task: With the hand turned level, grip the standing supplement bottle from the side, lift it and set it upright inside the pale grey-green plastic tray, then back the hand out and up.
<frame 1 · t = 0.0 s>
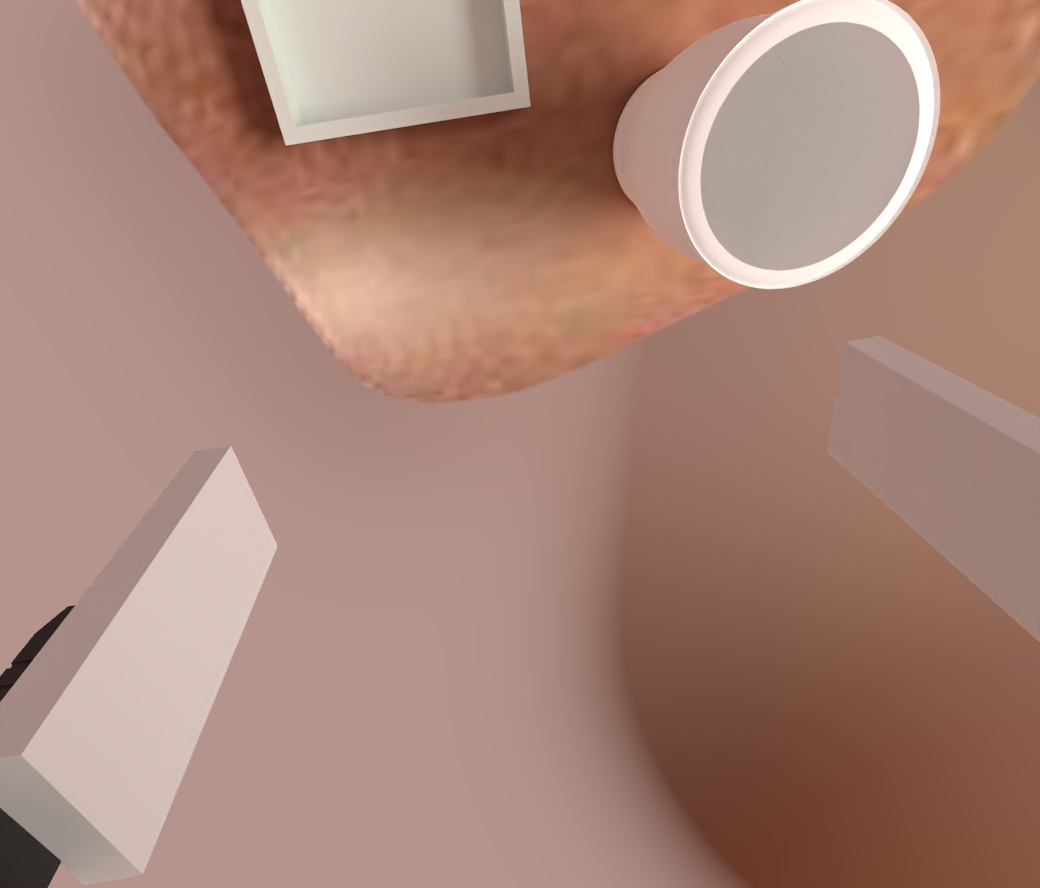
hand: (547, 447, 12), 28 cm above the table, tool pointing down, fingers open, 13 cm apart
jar: (677, 143, 35), on the table
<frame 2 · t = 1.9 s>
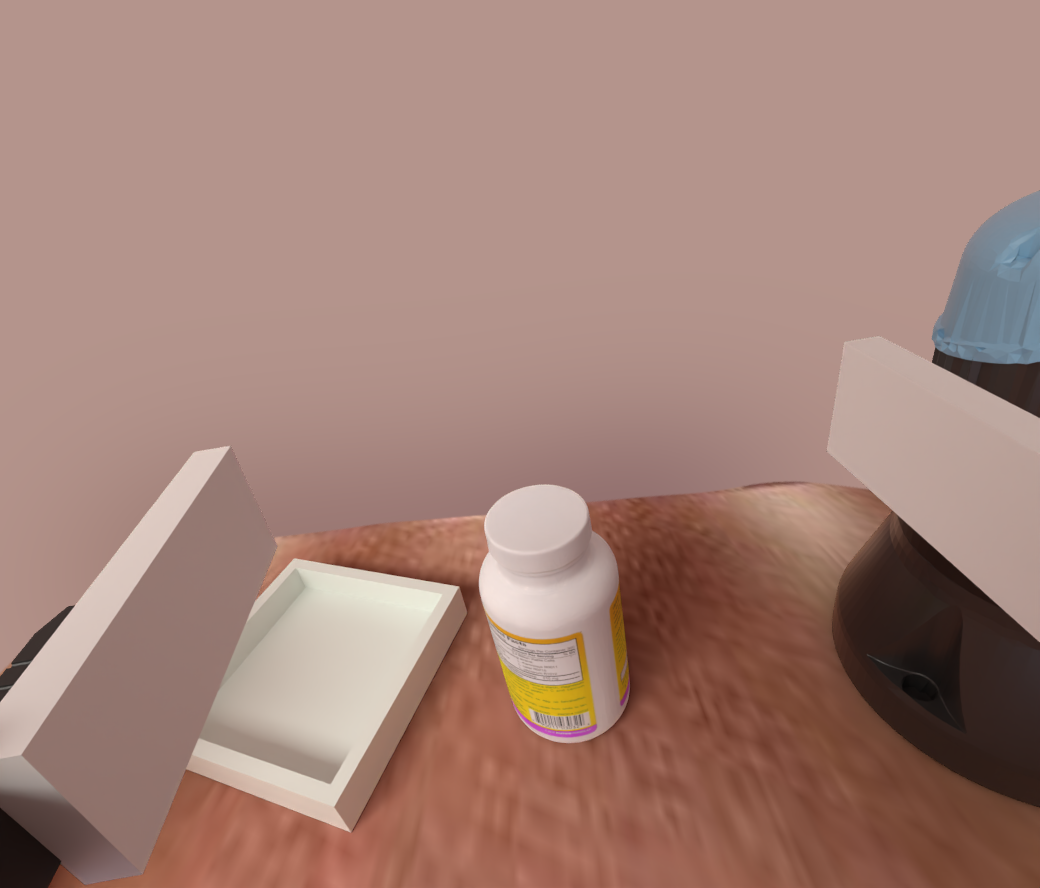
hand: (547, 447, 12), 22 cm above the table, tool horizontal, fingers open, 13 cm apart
tray: (324, 679, 35), on the table
supplement bottle: (570, 692, 32), on the table
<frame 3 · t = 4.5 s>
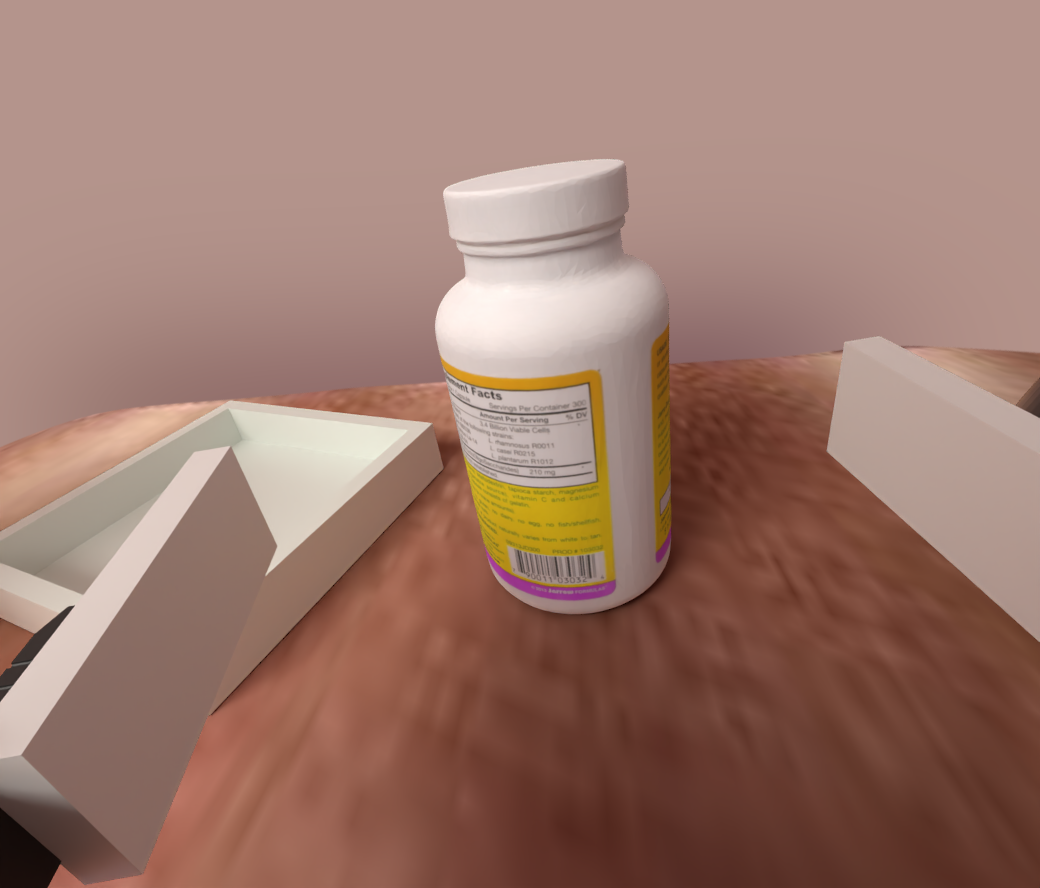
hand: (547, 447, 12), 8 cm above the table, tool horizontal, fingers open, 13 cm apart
tray: (234, 532, 25), on the table
supplement bottle: (578, 557, 21), on the table
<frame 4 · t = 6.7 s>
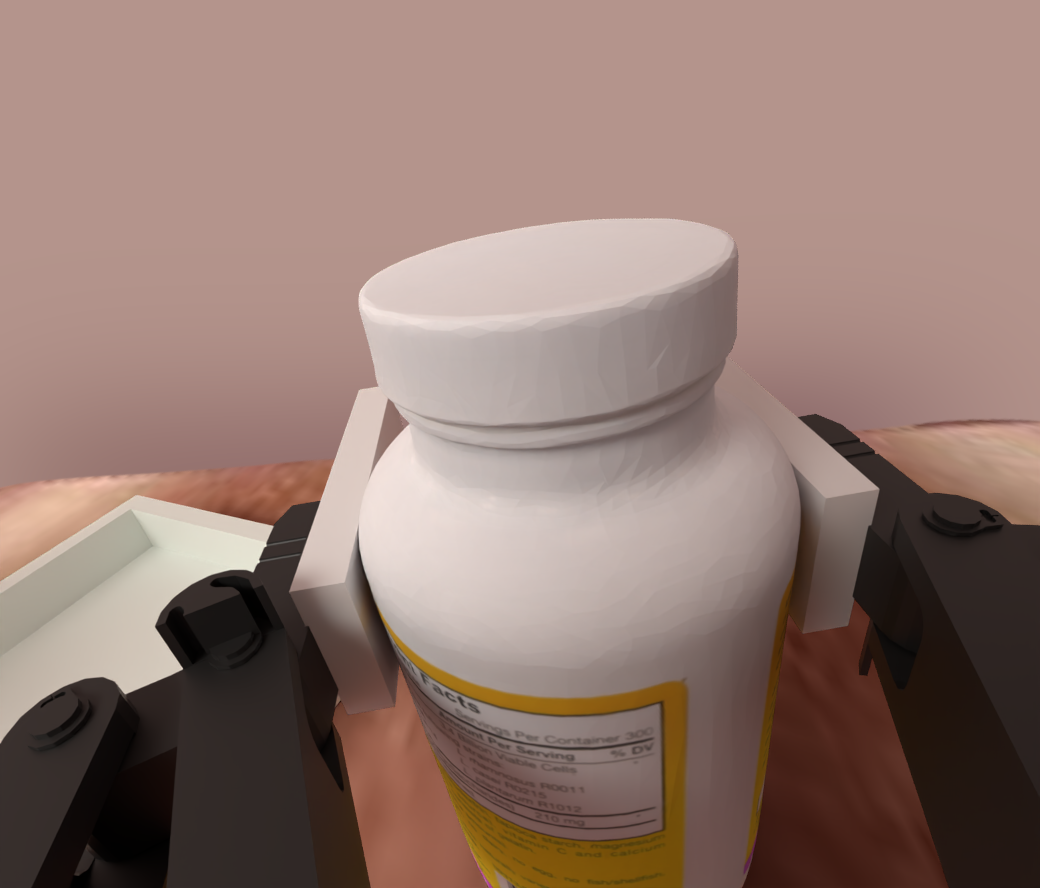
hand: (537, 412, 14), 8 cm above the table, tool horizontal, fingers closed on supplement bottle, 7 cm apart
tray: (110, 718, 18), on the table
supplement bottle: (604, 803, 14), on the table, touching gripper
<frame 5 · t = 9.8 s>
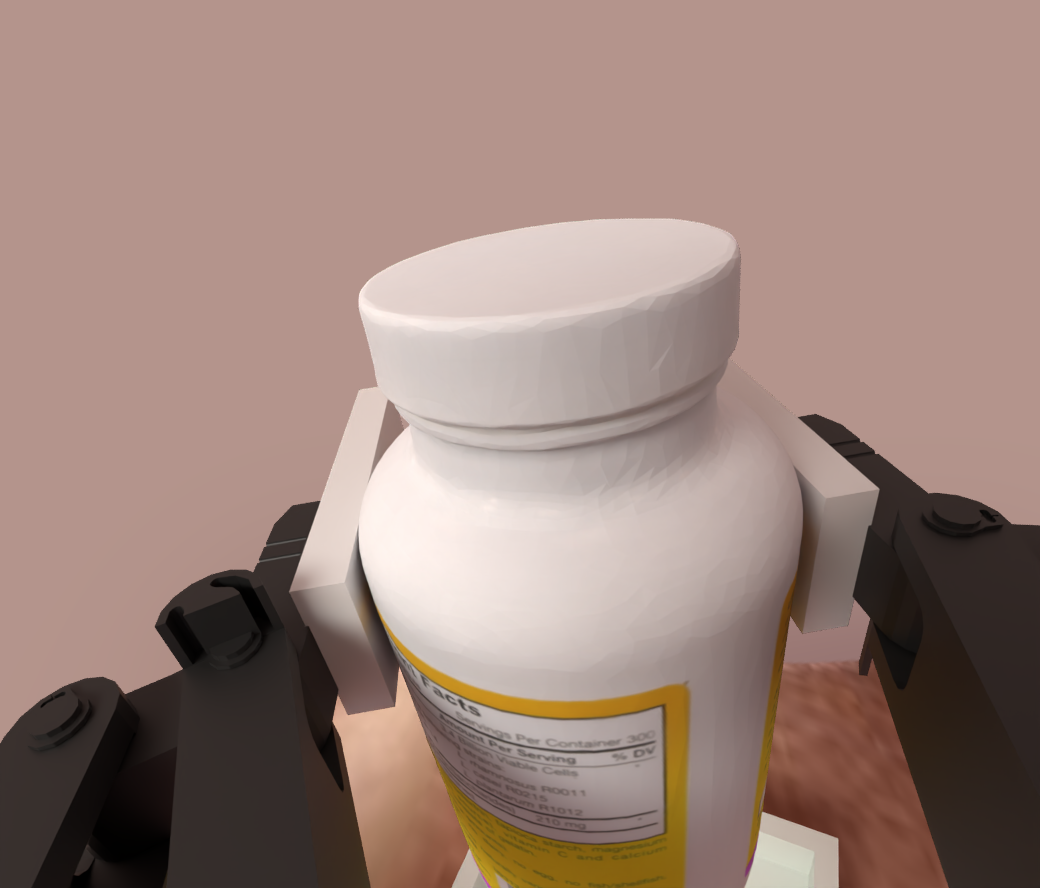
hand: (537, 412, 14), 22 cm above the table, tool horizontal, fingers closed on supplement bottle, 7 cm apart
supplement bottle: (605, 805, 14), point 14 cm above the table, touching gripper
when the fingers open (10 cm above the table, at t = 13.1 s): supplement bottle drops 1 cm, resting on tray.
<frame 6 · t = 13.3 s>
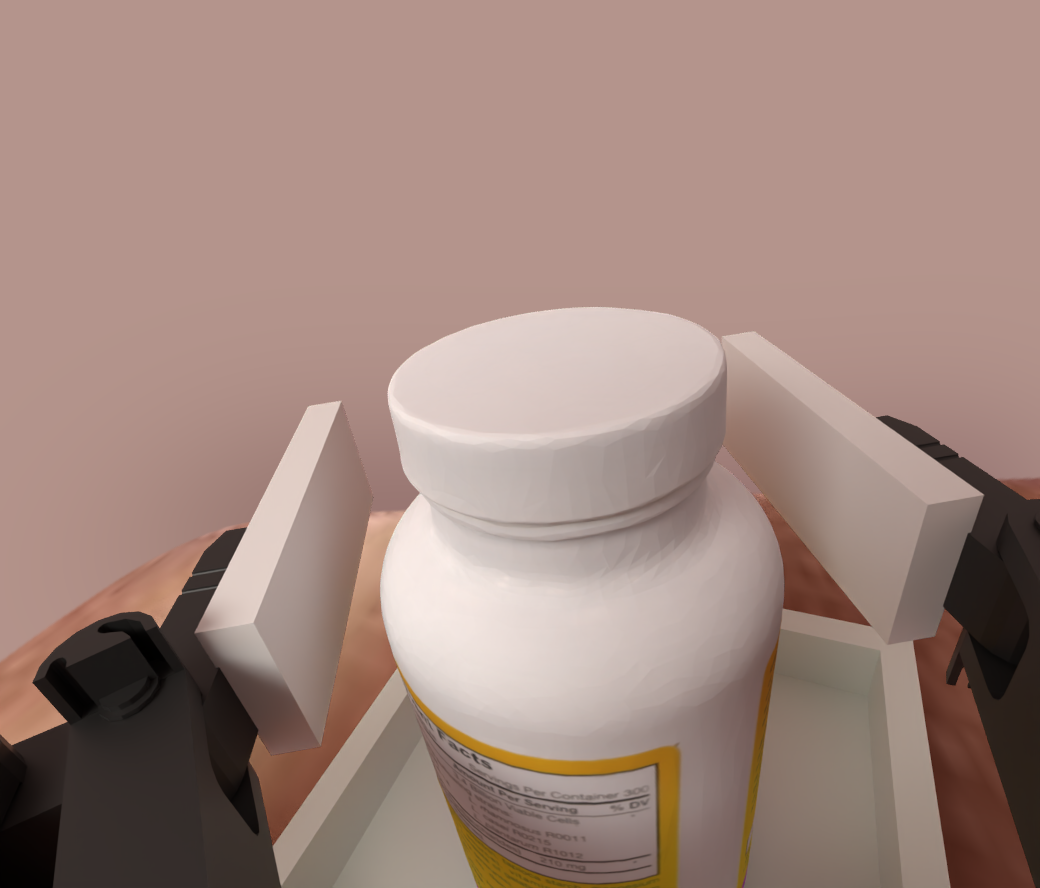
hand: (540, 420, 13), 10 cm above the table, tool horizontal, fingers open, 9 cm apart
tray: (608, 839, 15), on the table
supplement bottle: (603, 836, 14), resting on tray
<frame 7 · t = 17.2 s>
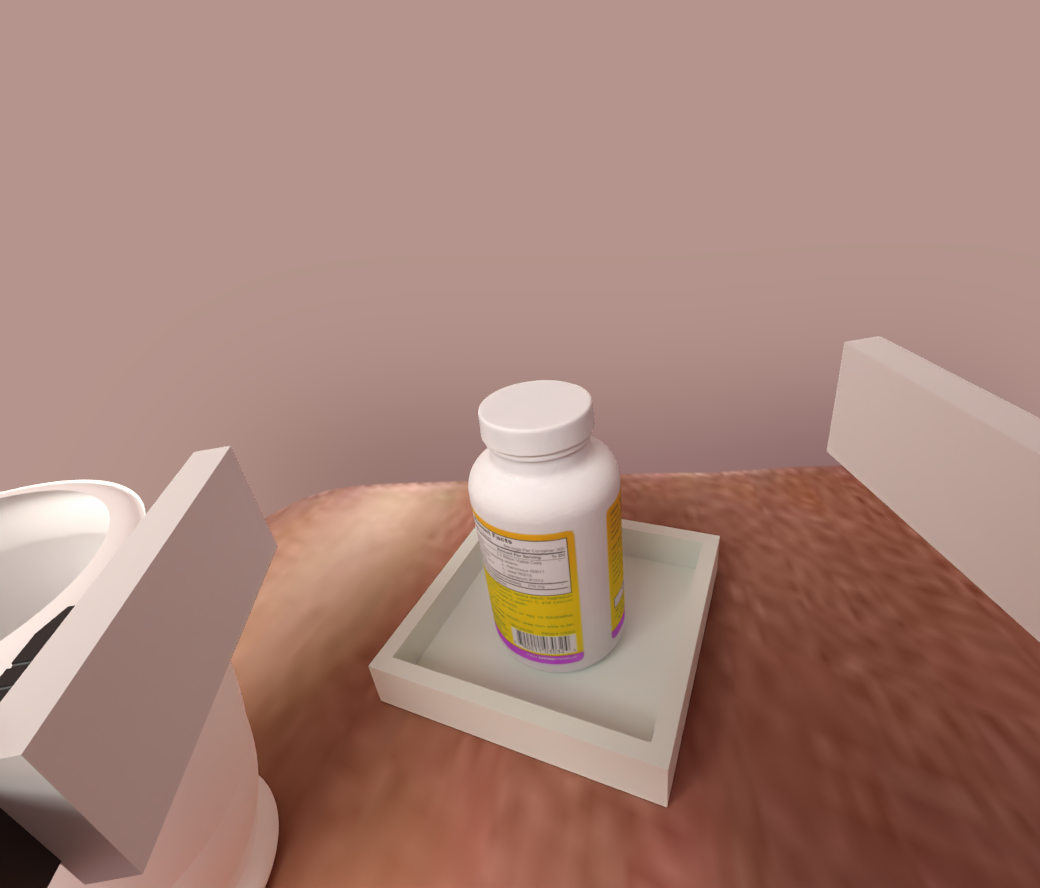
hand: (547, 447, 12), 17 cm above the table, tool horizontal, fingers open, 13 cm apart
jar: (170, 883, 22), on the table
tray: (562, 630, 30), on the table
supplement bottle: (560, 627, 29), resting on tray
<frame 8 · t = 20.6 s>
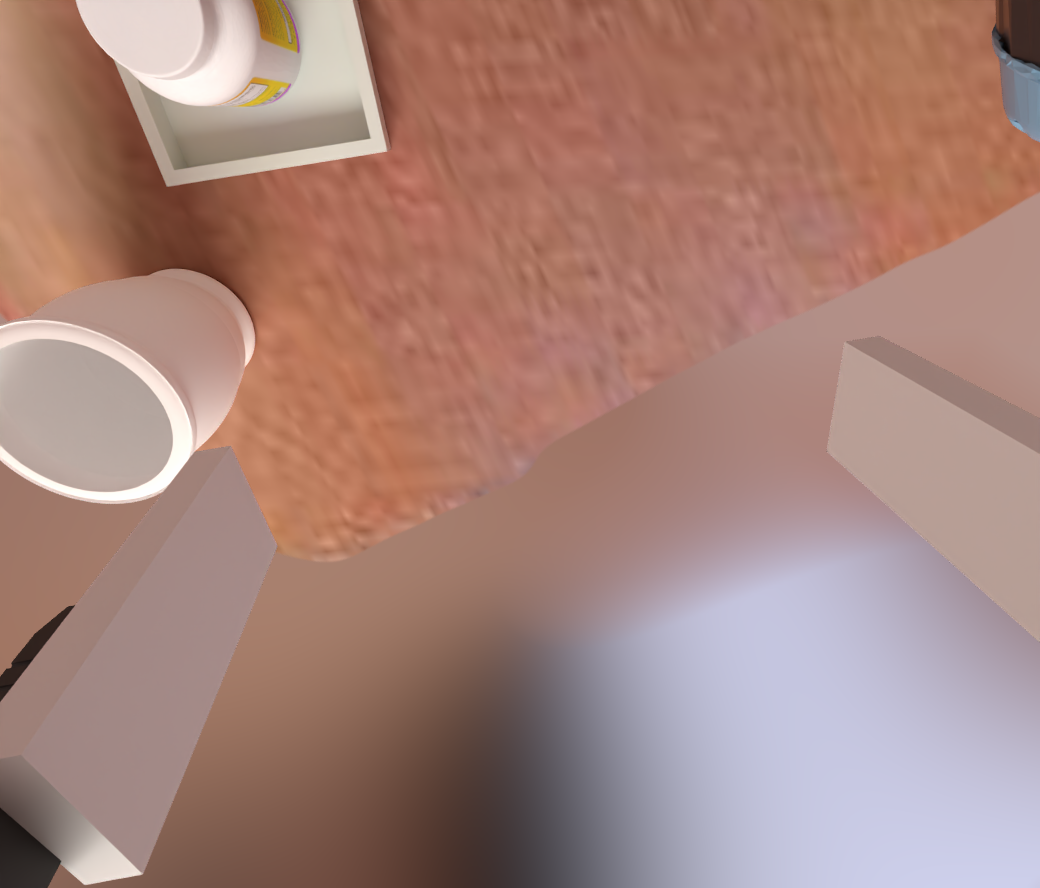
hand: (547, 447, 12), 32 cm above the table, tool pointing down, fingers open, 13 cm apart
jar: (196, 325, 42), on the table
tray: (248, 39, 33), on the table
supplement bottle: (246, 41, 33), resting on tray
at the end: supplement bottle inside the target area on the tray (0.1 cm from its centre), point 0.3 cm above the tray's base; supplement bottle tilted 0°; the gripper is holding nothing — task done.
